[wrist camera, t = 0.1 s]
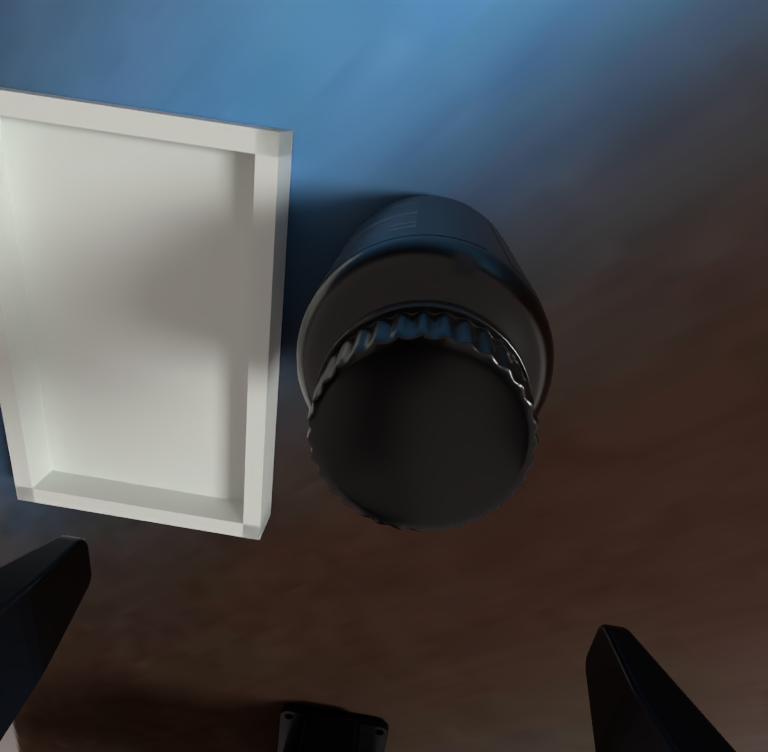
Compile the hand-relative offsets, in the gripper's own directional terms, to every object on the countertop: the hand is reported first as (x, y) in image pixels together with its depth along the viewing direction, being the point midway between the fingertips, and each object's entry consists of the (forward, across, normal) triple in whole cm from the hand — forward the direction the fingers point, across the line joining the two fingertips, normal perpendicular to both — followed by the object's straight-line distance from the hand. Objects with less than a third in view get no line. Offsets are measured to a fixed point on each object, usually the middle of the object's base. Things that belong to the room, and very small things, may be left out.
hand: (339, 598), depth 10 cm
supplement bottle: (+15, -1, -2) cm, 15 cm away
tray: (+15, +10, +2) cm, 18 cm away
